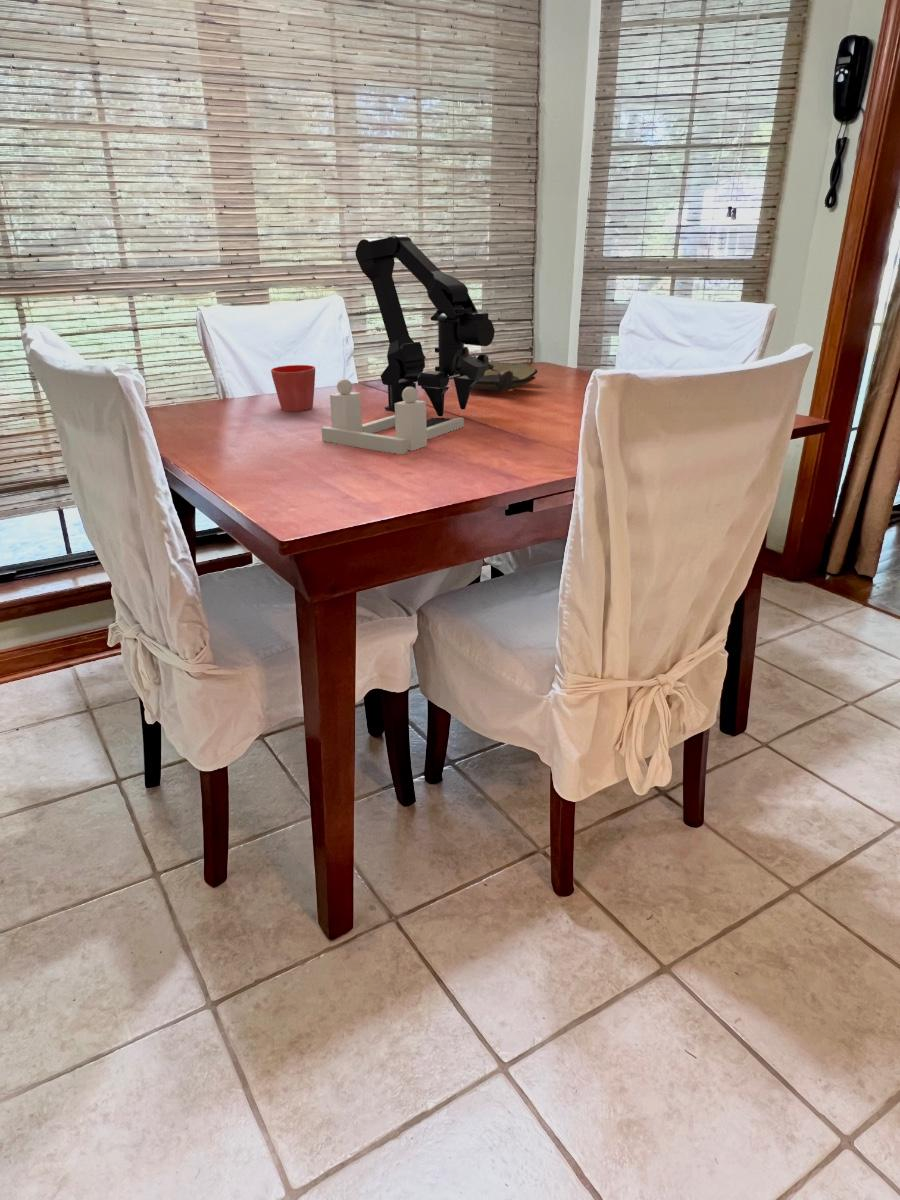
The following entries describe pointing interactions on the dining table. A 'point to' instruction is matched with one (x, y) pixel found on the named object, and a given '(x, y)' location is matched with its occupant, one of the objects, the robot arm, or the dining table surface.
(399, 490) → the dining table surface
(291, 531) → the dining table surface
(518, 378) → the oil lamp
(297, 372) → the flower pot
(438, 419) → the wood
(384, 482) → the dining table surface
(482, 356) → the robot arm
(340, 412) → the twin knob post frame
